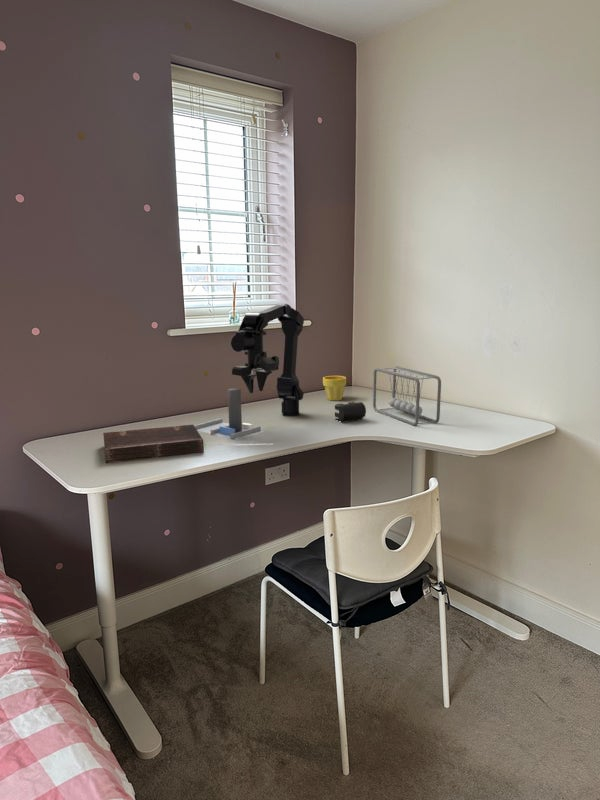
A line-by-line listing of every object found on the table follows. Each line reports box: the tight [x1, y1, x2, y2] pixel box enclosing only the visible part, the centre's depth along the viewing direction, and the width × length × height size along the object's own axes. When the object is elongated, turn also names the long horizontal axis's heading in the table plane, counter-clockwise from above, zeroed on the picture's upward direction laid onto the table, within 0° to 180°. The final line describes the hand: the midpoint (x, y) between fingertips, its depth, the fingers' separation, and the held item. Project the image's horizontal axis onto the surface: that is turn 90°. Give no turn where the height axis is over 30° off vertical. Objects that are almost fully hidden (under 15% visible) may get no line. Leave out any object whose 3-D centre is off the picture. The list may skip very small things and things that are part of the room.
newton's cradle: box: [372, 366, 442, 427], centre depth 220 cm, size 30×10×18 cm, turn 25°
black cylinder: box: [334, 401, 367, 423], centre depth 216 cm, size 10×7×7 cm
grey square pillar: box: [227, 388, 243, 433], centre depth 198 cm, size 4×4×15 cm
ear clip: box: [242, 422, 254, 429], centre depth 203 cm, size 4×2×1 cm, turn 52°
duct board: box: [193, 417, 265, 441], centre depth 202 cm, size 24×14×3 cm, turn 52°
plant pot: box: [322, 375, 347, 401], centre depth 254 cm, size 10×10×10 cm
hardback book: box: [102, 424, 205, 464], centre depth 182 cm, size 29×19×5 cm, turn 110°
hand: (256, 392), depth 205 cm, fingers open, 5 cm apart
